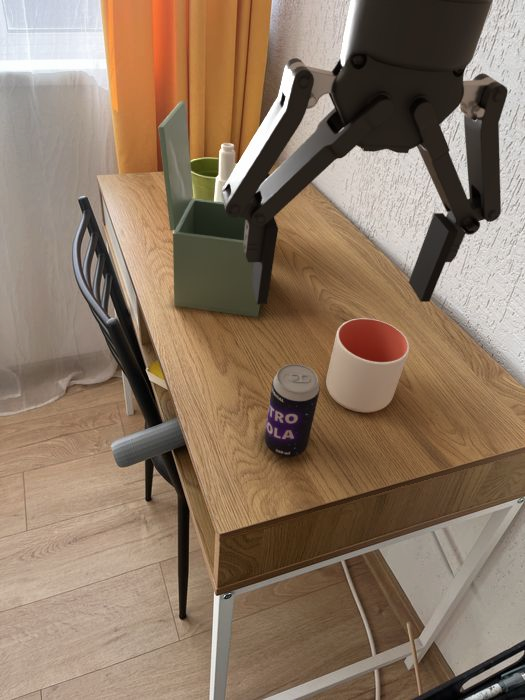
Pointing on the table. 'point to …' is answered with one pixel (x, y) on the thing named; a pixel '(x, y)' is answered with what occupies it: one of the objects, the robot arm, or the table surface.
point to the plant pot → (204, 177)
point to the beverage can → (291, 410)
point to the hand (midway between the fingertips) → (341, 293)
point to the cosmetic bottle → (224, 169)
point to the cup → (366, 364)
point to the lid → (176, 163)
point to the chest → (212, 261)
